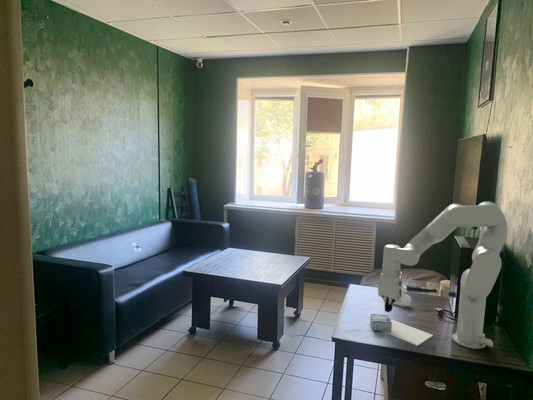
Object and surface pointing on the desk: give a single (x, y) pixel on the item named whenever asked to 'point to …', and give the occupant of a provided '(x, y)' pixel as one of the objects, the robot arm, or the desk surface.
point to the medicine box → (381, 323)
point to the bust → (404, 298)
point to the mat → (408, 333)
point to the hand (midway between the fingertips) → (388, 311)
